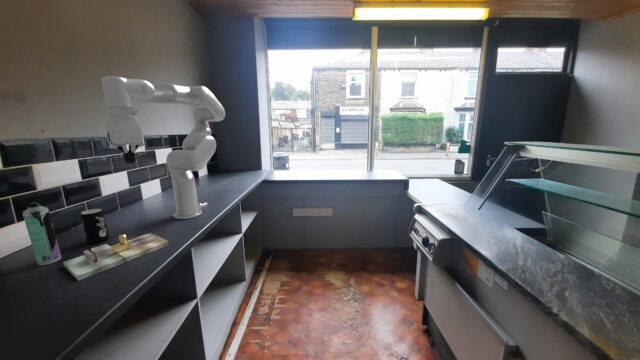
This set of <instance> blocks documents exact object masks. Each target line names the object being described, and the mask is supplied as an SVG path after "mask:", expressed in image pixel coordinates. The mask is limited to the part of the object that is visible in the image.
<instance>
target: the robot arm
mask: <svg viewBox="0 0 640 360" xmlns="http://www.w3.org/2000/svg"><path fill="white" fill-rule="evenodd" d="M101 84H102V89H103V93H104V94H103V96H104V99H105V104H106V110H107V114H108V116H106V117H105V133H106V135H105V136H106V140H107V144H108V147H109V149H116V150H118V151H120V152H121V153H122V154H123V159H124V162H126V164H130V165H131V164H135V161H136V156H135V155H136V154H135V153H136V151H137V150H138V149H139V148H141V147H142V148H143V147H144V146H145V144H144V136H143V132H142V128H141V125H140V122H139V120H138V117H137V116H136V115H138V114H139V111H138V109H137V110H136V109H135V108H134V106H133V105H134V104H133V102H135V103H152V104H153V103H154V104H162V105H163V104H164V105H165V104H166V105H169V104H170V105H183V106H195V107H194V109H193V111H192V116H193V120H194V127H193V128H192V130H191V131H190V132H189V133H188V135H186V137H185V138H184V140H183V141H182V143H181V144H182V145H181V147H182V149H176V150H172V151H170V152H169V153H168V154H167V155H166V159H165V160H166V165H167V168H168V170H169V173H170V179H171V182H172V189H173V190H172V191H173V195H174V196H173V198H174V203H175V210H176V211H175V212H174V213H173V215H172V216H173V219H176V220H188V219H192V218H196V217H199V216H201V215H202V214H203V210H202V209H203V208H205V207H208V202H203V203H202V202H199V203H198V195H197V187H196V186H197V185H196V179H195V176H194V174H193V172H199V171H201V170H203V169H204V168H205V167H206V165H207V164H208V163H209V161H210V160H211V158H212V156H213V155H215V154H214V153H216V149H217V141H216V139H215V137H214V136H212V130H211V128H210V124H209V123H210V122H221V121H223V120H224V119H225V117H226V111H225V108H224V106H223V105H222V104H221V102H220V101H219V99H218V98H217V97H216V96H215V94H214V93H213V92H212V91H211V90H210V89H209V88H207V87H206V86H204V85H195V86H190V85H189V86H187V85H181V84H175V83H169V82H168V83H167V82H165V83H163V82H159V83H151V82H150V81H148V80H146V79H143V78H126V77H122V76H115V75H114V76H113V75H107V76H106V75H105V76H103V77H102V78H101ZM127 145H128V147H127Z"/></svg>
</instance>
